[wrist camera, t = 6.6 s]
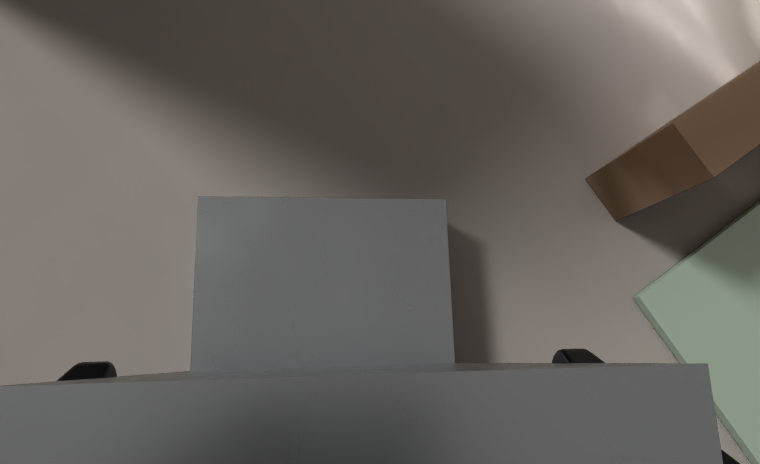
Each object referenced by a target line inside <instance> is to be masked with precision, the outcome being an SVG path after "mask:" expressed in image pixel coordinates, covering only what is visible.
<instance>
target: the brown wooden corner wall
mask: <svg viewBox="0 0 760 464" xmlns="http://www.w3.org/2000/svg"><path fill="white" fill-rule="evenodd" d="M759 144H760V61H759V62H758V63H756V64H755V65H753V66H752V67H750V68H749V69H747V70H746V71H744V72H743V73H741V74H740V75H738V76H737V77H735V78H734V79H732V80H731V81H729V82H728V83H727V84H725V85H724V86H722V87H721V88H719V89H718V90H716V91H715V92H713V93H712V94H710V95H709V96H707V97H706V98H704V99H703V100H701V101H700V102H698V103H697V104H695V105H694V106H692V107H691V108H689V109H688V110H686V111H685V112H684V113H682V114H681V115H679V116H678V117H676V118H675V119H673V120H672V121H670V122H669V123H667V124H666V125H664V126H663V127H661V128H660V129H658V130H657V131H655V132H654V133H652V134H651V135H649V136H648V137H646V138H645V139H644V140H642V141H641V142H639V143H638V144H636V145H635V146H633V147H632V148H630V149H629V150H627V151H626V152H624V153H623V154H621V155H620V156H618V157H617V158H615V159H614V160H612V161H611V162H609V163H608V164H606V165H605V166H604V167H602V168H601V169H599V170H598V171H596V172H595V173H593V174H592V175H590V176H589V177H587V178H586V180H587V182H588V183H589V185H590V186H591V187H592V189H593V190H594V191H595V193H596V194H597V196H598V197H599V198H600V200H601V201H602V203H603V204H604V205H605V207H606V208H607V209H608V211H609V212H610V214H611V215H612V216H613V218H614V219H615V220H616V221H617V220H619V219H622V218H624V217H626V216H628V215H631V214H633V213H635V212H638V211H640V210H642V209H644V208H647V207H649V206H651V205H653V204H656V203H658V202H660V201H662V200H665V199H667V198H669V197H671V196H674V195H676V194H678V193H680V192H683V191H685V190H687V189H689V188H692V187H694V186H696V185H698V184H701V183H703V182H705V181H707V180H710V179H712V178H714V177H716V176H717V175H718V174H720V173H721V172H722V171H724V170H725V169H727V168H728V167H729V166H731V165H732V164H733V163H735V162H736V161H738V160H739V159H740V158H742V157H743V156H744V155H746V154H747V153H749V152H750V151H751V150H753V149H754V148H755V147H757V146H758V145H759Z"/></svg>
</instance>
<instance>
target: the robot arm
mask: <svg viewBox="0 0 760 464" xmlns="http://www.w3.org/2000/svg"><path fill="white" fill-rule="evenodd" d="M552 363H605V362H603V361H602V360H601V359H599V358H598V357H597V356H595V355H594V354H592V353H591V352H589V351H588V350H586V349H561V350H558V351H557V352H556V353H555V355H554V357H553V360H552ZM107 377H117V374H116V370H115V367H114V366H113V364H112V363H110V362H81V363H78V364H76V365H75V366H73V367H72V368H71V369H70V370H69V371H67V372H66V373H65V374H64V375H63V376H62V377H61V378H59V379H58V380H57V381H67V380H80V379H93V378H107ZM721 453H722V460H723V464H740V463H739V462H737V461H736V460H735V459H733V458H732V457H731V456H729V455H728V454H727V453H725V452H724V451H723V450H721Z"/></svg>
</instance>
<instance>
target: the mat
mask: <svg viewBox="0 0 760 464" xmlns="http://www.w3.org/2000/svg"><path fill="white" fill-rule="evenodd" d="M633 299H634V300H635V301H636V303H637V304H638V306H639V307H640V308H641V310H642V311H643V313H644V314H645V315H646V317H647V318H648V320H649V321H650V322H651V324H652V325H653V327H654V328H655V329H656V331H657V332H658V334H659V335H660V336H661V338H662V339H663V340H664V342H665V343H666V345H667V346H668V347H669V349H670V350H671V352H672V353H673V354H674V356H675V357H676V359H677V360H678V361H679V363H708V368H709V374H710V381H711V387H712V394H713V401H714V407H715V413H716V414H717V416H718V417H719V419H720V420H721V421H722V423H723V424H724V425H725V427H726V428H727V430H728V431H729V432H730V434H731V435H732V437H733V438H734V439H735V441H736V442H737V444H738V445H739V446H740V448H741V449H742V451H743V452H744V453H745V455H746V456H747V458H748V459H749V460H750V462H751V463H752V464H760V201H759V202H758V203H756V204H755V205H754V206H752V207H751V208H750V209H748V210H747V211H746V212H744V213H743V214H742V215H741V216H739V217H738V218H737V219H735V220H734V221H733V222H731V223H730V224H729V225H727V226H726V227H725V228H724V229H722V230H721V231H720V232H718V233H717V234H716V235H714V236H713V237H712V238H710V239H709V240H708V241H707V242H705V243H704V244H703V245H701V246H700V247H699V248H697V249H696V250H695V251H693V252H692V253H691V254H690V255H688V256H687V257H686V258H684V259H683V260H682V261H680V262H679V263H678V264H676V265H675V266H674V267H673V268H671V269H670V270H669V271H667V272H666V273H665V274H663V275H662V276H661V277H659V278H658V279H657V280H656V281H654V282H653V283H652V284H650V285H649V286H648V287H646V288H645V289H644V290H642V291H641V292H640V293H638V294H637V295H636V296H635V297H633Z"/></svg>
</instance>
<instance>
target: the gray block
mask: <svg viewBox="0 0 760 464" xmlns="http://www.w3.org/2000/svg"><path fill="white" fill-rule="evenodd" d="M0 464H723V460H722V453H721V446H720V440H719V433H718V427H717V420H716V414H715V407H714V401H713V394H712V387H711V381H710V374H709V368H708V363H455V354H454V336H453V319H452V301H451V283H450V265H449V247H448V230H447V212H446V199H380V198H299V197H218V196H198V208H197V231H196V253H195V276H194V298H193V321H192V343H191V366H190V371H183V372H171V373H158V374H145V375H132V376H119V377H107V378H93V379H80V380H67V381H55V382H42V383H29V384H16V385H3V386H0Z"/></svg>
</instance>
